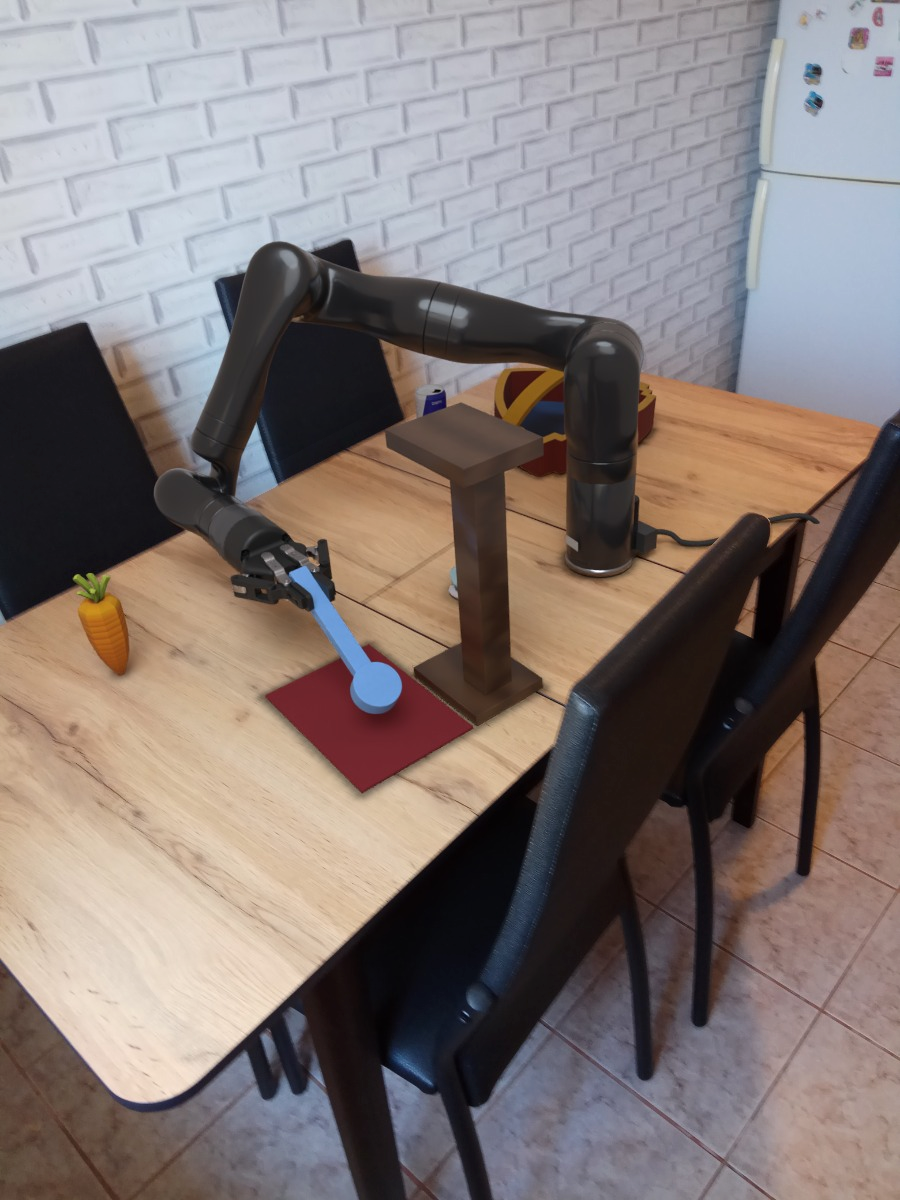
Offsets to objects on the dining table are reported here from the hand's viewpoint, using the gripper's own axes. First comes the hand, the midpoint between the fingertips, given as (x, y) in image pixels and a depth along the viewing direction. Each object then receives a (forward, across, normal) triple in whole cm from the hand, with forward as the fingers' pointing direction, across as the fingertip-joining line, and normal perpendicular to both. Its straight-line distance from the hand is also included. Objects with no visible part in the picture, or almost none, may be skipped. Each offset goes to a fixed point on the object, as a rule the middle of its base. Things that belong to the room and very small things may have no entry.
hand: (321, 598), depth 105 cm
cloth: (+7, 0, +13) cm, 14 cm away
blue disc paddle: (+3, 0, +4) cm, 5 cm away
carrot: (-20, -19, +13) cm, 31 cm away
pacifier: (-5, +25, +13) cm, 28 cm away
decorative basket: (-33, +69, +13) cm, 77 cm away
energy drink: (-44, +48, +13) cm, 66 cm away
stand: (+11, +13, +13) cm, 21 cm away
